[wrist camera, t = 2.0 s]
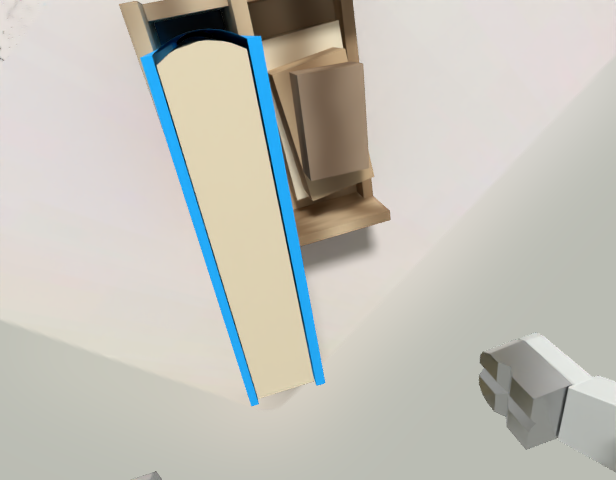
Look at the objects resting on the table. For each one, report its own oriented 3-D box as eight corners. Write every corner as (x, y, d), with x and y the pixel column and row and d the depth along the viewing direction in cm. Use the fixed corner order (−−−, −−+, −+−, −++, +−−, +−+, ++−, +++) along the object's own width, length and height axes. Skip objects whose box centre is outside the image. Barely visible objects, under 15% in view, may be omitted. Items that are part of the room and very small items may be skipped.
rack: (336, -28, 35) (393, -48, 26) (363, 194, 46) (410, 238, 36) (136, 11, 33) (118, 4, 23) (212, 237, 43) (221, 295, 34)
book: (257, 207, 43) (332, 385, 22) (216, 217, 42) (252, 411, 21) (216, 24, 35) (271, 17, 13) (164, 32, 34) (133, 40, 13)
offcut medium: (332, 47, 34) (345, 48, 32) (361, 167, 40) (374, 176, 37) (265, 71, 34) (272, 75, 31) (304, 189, 39) (312, 201, 37)
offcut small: (350, 61, 32) (363, 63, 30) (358, 159, 36) (369, 168, 34) (289, 72, 31) (297, 75, 29) (303, 171, 35) (311, 181, 33)
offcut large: (327, 20, 36) (338, 20, 33) (353, 169, 43) (364, 177, 40) (250, 41, 35) (255, 42, 32) (290, 189, 42) (297, 200, 39)
